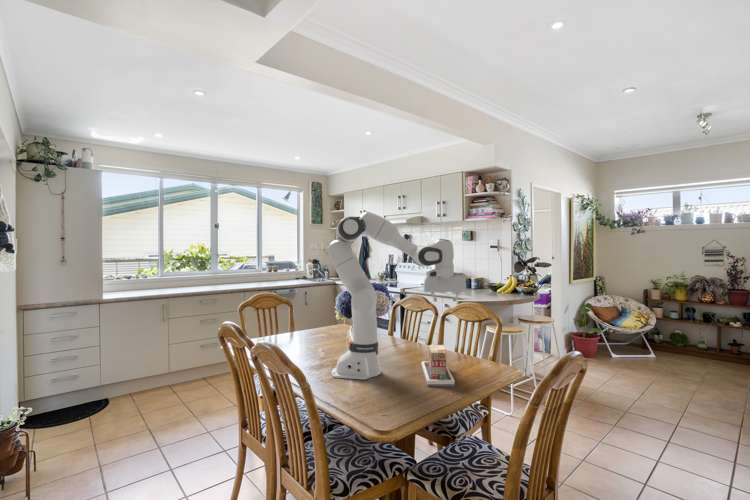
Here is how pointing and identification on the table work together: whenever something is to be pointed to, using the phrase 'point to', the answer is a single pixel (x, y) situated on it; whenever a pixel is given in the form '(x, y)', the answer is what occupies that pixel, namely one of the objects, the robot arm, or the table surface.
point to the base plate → (437, 383)
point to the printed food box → (437, 362)
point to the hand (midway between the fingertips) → (444, 301)
